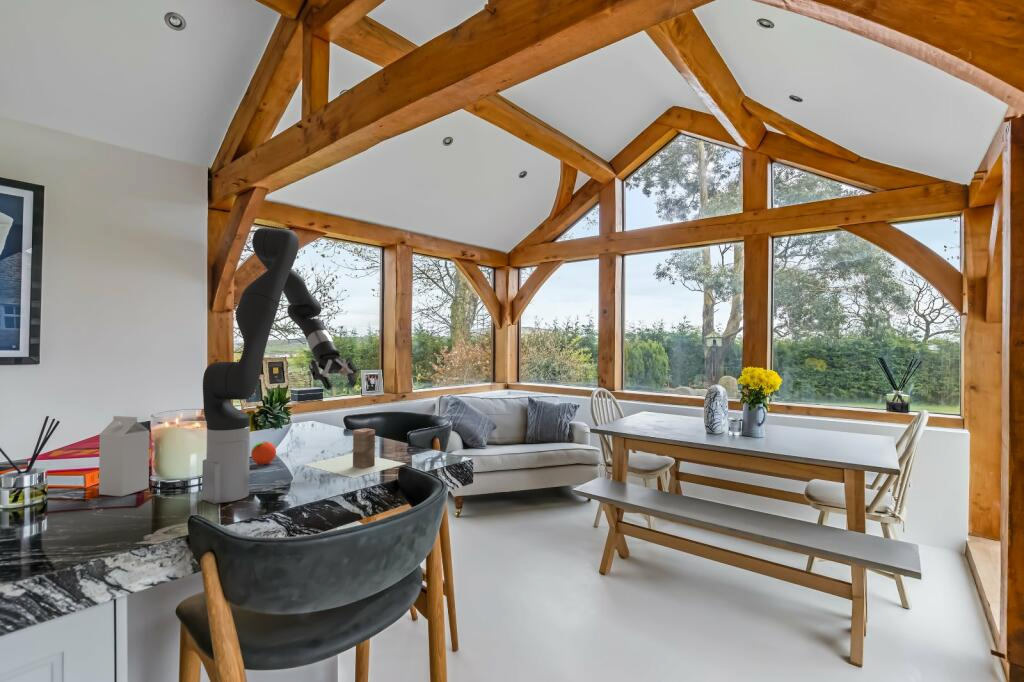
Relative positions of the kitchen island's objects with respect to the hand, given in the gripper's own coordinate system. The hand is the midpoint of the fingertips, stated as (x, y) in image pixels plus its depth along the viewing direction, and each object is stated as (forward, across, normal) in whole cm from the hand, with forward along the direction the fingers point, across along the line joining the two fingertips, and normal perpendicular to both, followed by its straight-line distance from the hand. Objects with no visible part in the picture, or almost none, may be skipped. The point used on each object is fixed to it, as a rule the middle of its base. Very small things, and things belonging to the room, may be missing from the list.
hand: (342, 386), depth 156 cm
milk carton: (+6, -53, +25) cm, 59 cm away
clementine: (+7, -18, +28) cm, 34 cm away
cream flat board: (+22, 0, +12) cm, 25 cm away
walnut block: (+24, 0, +8) cm, 25 cm away
